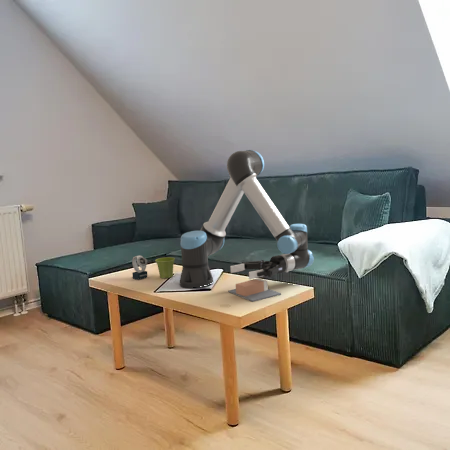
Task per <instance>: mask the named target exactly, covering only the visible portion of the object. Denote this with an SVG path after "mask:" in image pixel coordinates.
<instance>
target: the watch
mask: <svg viewBox="0 0 450 450" xmlns="http://www.w3.org/2000/svg"><path fill="white" fill-rule="evenodd" d="M147 264H148V259H146V258H145V257H144V256H143V255H140V254H139V255H136V256H133V258H132V267H133V269H134V272H131V273H132V280H136V281H140V280H144V279H147V278H148V271H146V269H147V266H148V265H147ZM139 268H140V269H139Z"/></svg>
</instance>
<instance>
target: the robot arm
mask: <svg viewBox="0 0 450 450" xmlns="http://www.w3.org/2000/svg"><path fill="white" fill-rule="evenodd" d="M226 169H227V172H228V175H229V180H228V181H227V184H225V185H226V186H225V187H224V190H223V192H222V194H221V196H220V198H219V200H218V201H217V204H216V205H215V207H214V210H213V212H212V214H211V216H210V218H209V219H208V221H205V222H204V223H203V224H202V225H201V228H200V230H191V231H187V232H184V233H182V235H181V237H180V243H179V244H180V252H181V254H180V255H181V264H182V269H181V274H180V277H179V286H180V288H181V287H182V288H185V289H194V288H193V287H200V286H204V285H208V284H210V283H212V282H213V283H214V276H213V275H212V272H211V269H210V267H209V259H208V258H209V256H211V255H214V254H216V253H218V252H219V251H221V249H222V248H223V246H224V244H225V238H226V236H227V233H226V228H227V227H228V224H229V223H230V221H231V218H232V217H233V215H234V213H235V211H236V209H237V208H238V205H239V203H240V202H241V200H242V198H243V195H245V196H246V197H247V199H248V200H249V202H250V203H251V205H252V206H253V208H254V209H255V211H256V212H257V214H258V215H259V217H260V218H261V219H262V222H264V224H265V226H266V227H267V228H268V230H269V231H270V233H271V234H272V236H273V237H274V238H275V240H276V242H277V243H276V247H277V249H278V251H279V252H280V253H281V254H280V255H275V256H274V255H273V256H271V257H270V258H269V259H270V260H264V259H261V260H254V261H243V262H241V263H239V264H235V265H230V267H229V268H230V273H231V274H233V273H238V272H245V270H252V271H249V272H248V279H249V280H253V279H257V278H261V277H268V278H271V277H273V276H275V275H277V274H282V273H289V272H290V271H295V270H299V269H305V268H309V267H311V266H312V265H313V264H314V261H315V257H314V256H313V252H312V251H311V250H310V249H308V233H309V232H308V226H307V225H306V224H305V223H293V224H290V225H289V224H288V223H287V221H286V219H285V218H284V217H283V215H282V214H281V212H280V211H279V209H278V208H277V206H276V205H275V204H274V202H273V201H272V200H271V198H270V196H269V195H268V193H267V192H266V190H265V189H264V187H263V186H262V184H261V183H260V182H259V180H258V179H257V176H259V175H260V174H261V173H262V172H263V171H264V169H265V161H264V157H263V156H262V154H261V153H260V152H258V151H256V150H253V149H246V150H238V151H235V152H233V153H232V154H230V156H229V157H228V159H227V161H226Z"/></svg>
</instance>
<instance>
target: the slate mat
mask: <svg viewBox="0 0 450 450" xmlns="http://www.w3.org/2000/svg"><path fill="white" fill-rule="evenodd" d="M228 292H229V293H230V294H233V295H236V296H237V297H239V298H243V299H245V300H247V301H250V302H252V303H253V302H257V301H261V300H265V299H270V298H273V296H274V297H277V295H278V296H281V295H282V292H279V291H276V290H273V289H270V288H268V290H266V291H263V292H259V293H256V294H252V295H249V296H243V295H239V294H236V288H233V289H229V290H228Z"/></svg>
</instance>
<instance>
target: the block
mask: <svg viewBox="0 0 450 450" xmlns="http://www.w3.org/2000/svg"><path fill="white" fill-rule="evenodd" d="M235 289H236V294H239V295H243V296H249V295H252V294H256V293H259V292H263V291H266V290H268V289H269V288H268V280H265V279H262V278H260V277H258V278H253V279H249V280H246V281H242V282H238V283H235Z"/></svg>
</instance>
